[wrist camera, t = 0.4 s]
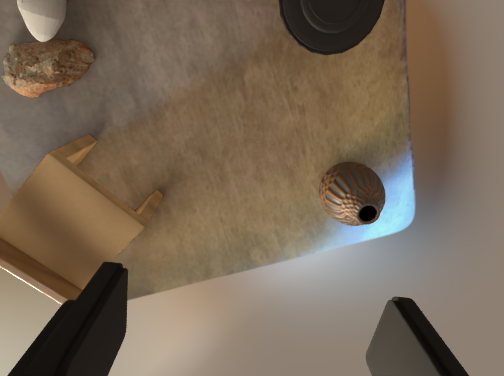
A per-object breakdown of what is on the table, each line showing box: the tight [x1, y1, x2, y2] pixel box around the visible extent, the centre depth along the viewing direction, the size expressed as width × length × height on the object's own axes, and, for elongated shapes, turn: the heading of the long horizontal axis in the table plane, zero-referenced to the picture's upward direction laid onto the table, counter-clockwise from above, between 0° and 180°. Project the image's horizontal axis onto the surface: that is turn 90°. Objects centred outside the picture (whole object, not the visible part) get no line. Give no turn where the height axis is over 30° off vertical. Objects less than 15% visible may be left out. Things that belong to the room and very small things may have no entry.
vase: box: [319, 162, 385, 226], centre depth 34 cm, size 7×7×9 cm
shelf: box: [0, 135, 164, 304], centre depth 33 cm, size 12×11×10 cm
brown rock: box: [2, 39, 94, 98], centre depth 31 cm, size 10×4×5 cm
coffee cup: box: [279, 0, 384, 55], centre depth 26 cm, size 8×8×10 cm
